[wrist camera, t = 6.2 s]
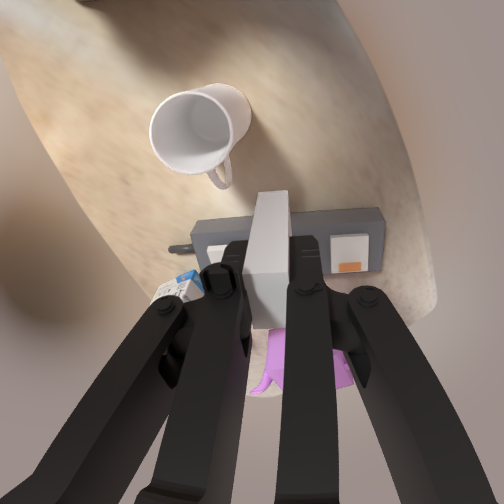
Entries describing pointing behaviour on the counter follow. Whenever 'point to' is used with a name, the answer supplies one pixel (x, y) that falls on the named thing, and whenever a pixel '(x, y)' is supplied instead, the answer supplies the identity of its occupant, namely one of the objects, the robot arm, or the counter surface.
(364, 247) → the rocker
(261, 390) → the teapot
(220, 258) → the rocker
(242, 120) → the mug
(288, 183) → the counter surface
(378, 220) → the power strip
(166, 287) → the ink box
